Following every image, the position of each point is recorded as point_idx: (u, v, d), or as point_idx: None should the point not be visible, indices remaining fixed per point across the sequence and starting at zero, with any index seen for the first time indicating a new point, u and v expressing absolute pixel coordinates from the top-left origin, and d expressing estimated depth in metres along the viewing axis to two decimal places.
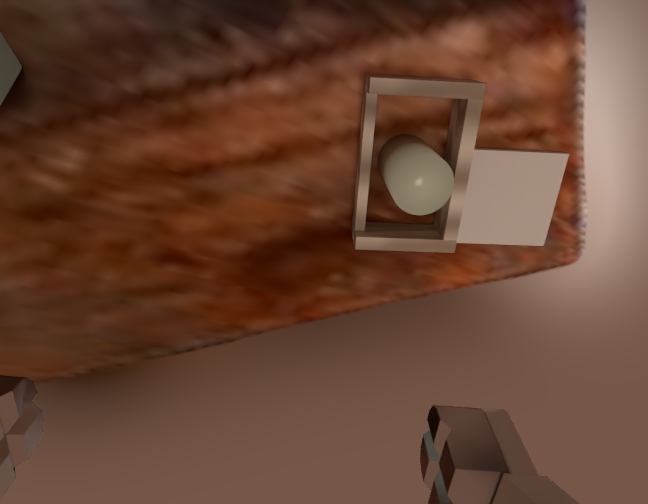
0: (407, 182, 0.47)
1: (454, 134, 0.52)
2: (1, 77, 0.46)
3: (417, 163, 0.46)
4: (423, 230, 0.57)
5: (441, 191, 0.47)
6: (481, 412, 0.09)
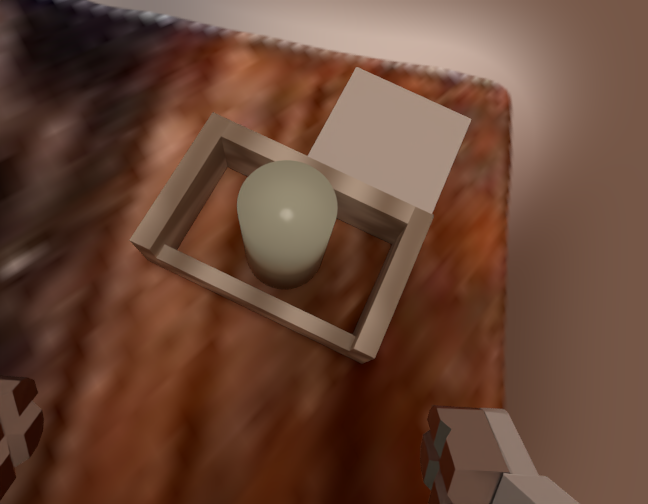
0: (273, 224, 0.29)
1: None
2: None
3: (250, 200, 0.29)
4: (390, 254, 0.38)
5: (309, 183, 0.30)
6: (481, 411, 0.09)
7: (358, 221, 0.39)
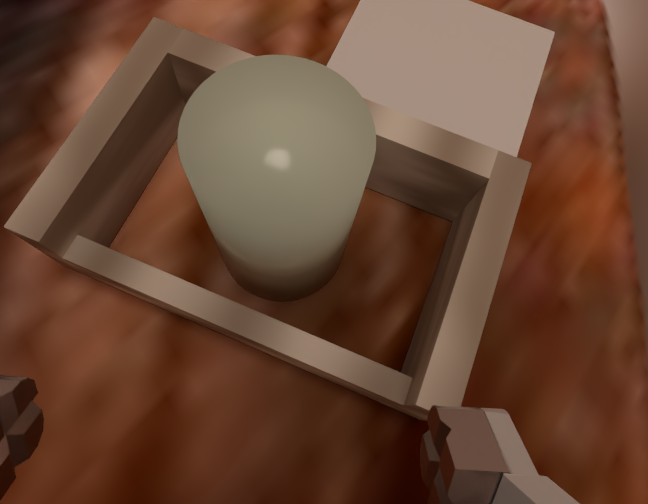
0: (250, 172, 0.15)
1: None
2: None
3: (204, 129, 0.15)
4: (455, 236, 0.23)
5: (318, 93, 0.16)
6: (481, 411, 0.09)
7: (398, 187, 0.24)
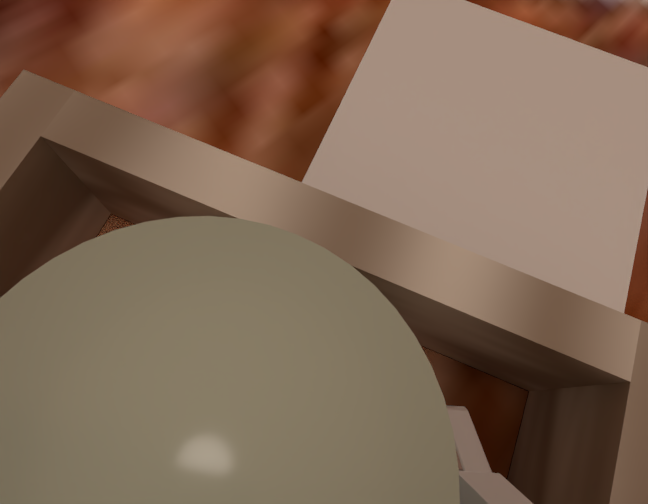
0: None
1: None
2: None
3: None
4: (548, 447, 0.13)
5: (300, 328, 0.06)
6: None
7: (445, 345, 0.15)
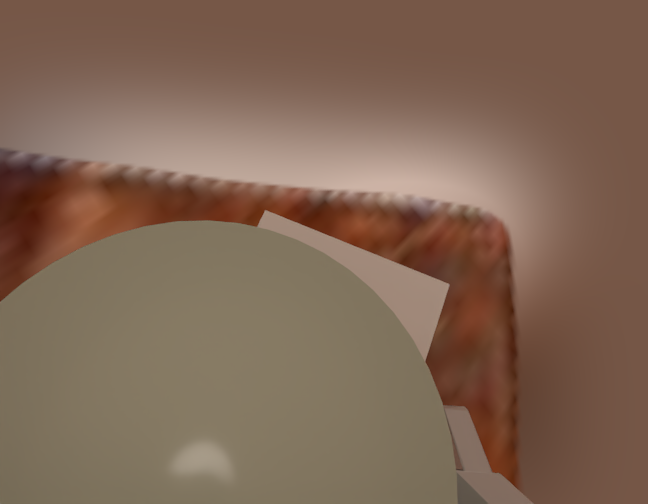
0: None
1: None
2: None
3: None
4: None
5: (299, 333, 0.06)
6: None
7: None
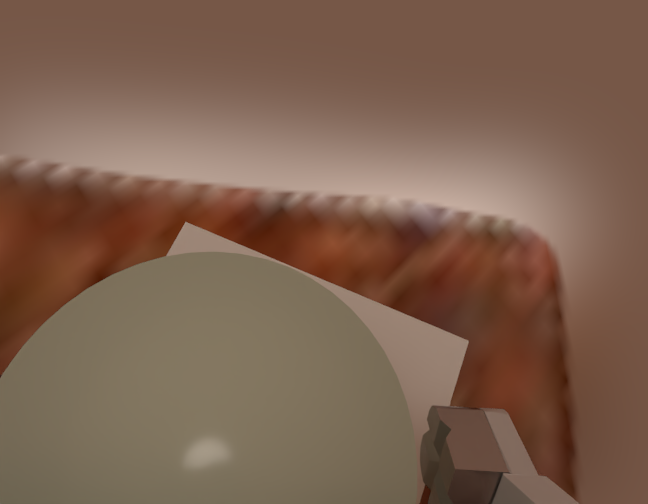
0: None
1: None
2: None
3: (28, 456, 0.07)
4: None
5: (290, 345, 0.07)
6: (481, 411, 0.09)
7: None
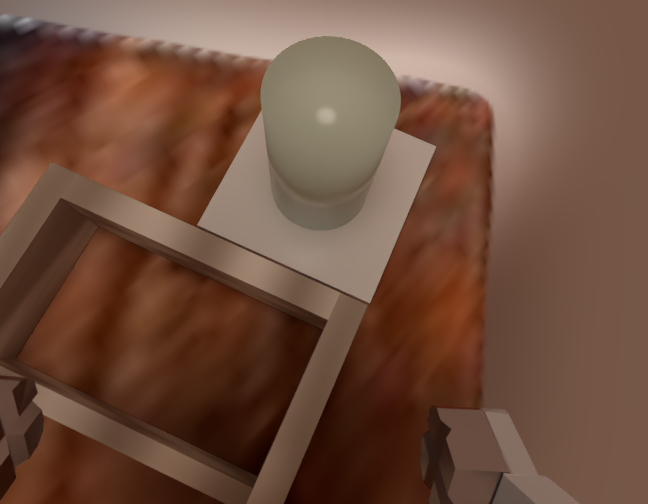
0: (311, 122, 0.21)
1: (141, 241, 0.27)
2: None
3: (279, 90, 0.21)
4: None
5: (359, 65, 0.22)
6: (481, 412, 0.09)
7: (271, 303, 0.28)
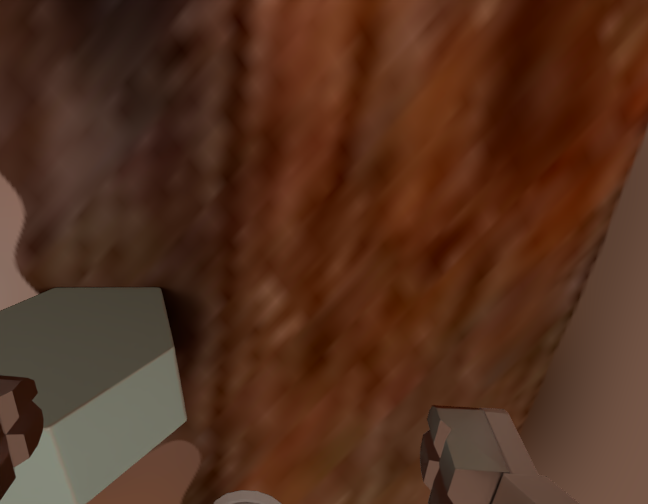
0: None
1: None
2: (152, 314, 0.40)
3: None
4: None
5: None
6: (481, 411, 0.09)
7: None
